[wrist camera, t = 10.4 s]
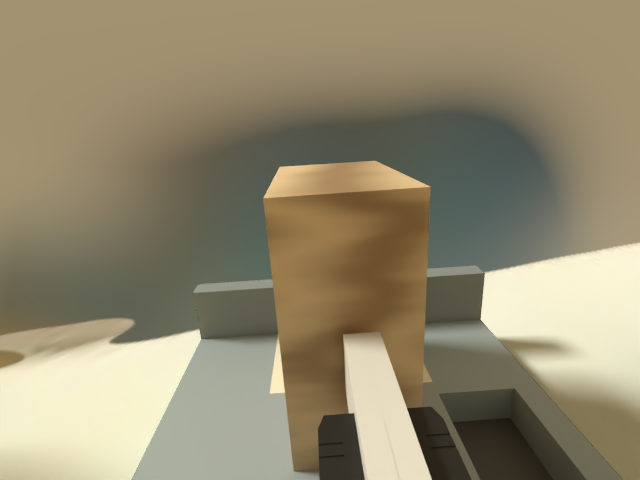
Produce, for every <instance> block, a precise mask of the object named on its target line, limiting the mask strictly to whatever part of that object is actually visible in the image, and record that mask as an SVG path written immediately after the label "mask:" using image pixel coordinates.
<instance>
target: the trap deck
mask: <svg viewBox="0 0 640 480" xmlns="http://www.w3.org/2000/svg"><path fill="white" fill-rule="evenodd" d="M484 275H485V273H484V272H483V271H481V270H480V269H479V268H478V267H477V266H464V267H448V268H433V269H427V286H426V312H425V339H424V365H423V391H422V407H432V408H433V409H434V410H435V411H436V412H437V413H438V414H439V415H440V416H441V417H442V418H443V419H444V421H445V423H446V425H447V428H448V430H449V432H450V436H452V438H453V441H454V443H455V445H456V449H458V451H459V453H460V456H461V458H462V460H463V462H464V464H465V466H466V469H467V471H468V473H469V475H470V477H471V479H472V480H623V479H622V478H621V477H620V476H619V475H618V474H617V473H616V471H615V470H614V469H613V468H612V467H611V466H610V465H609V464H608V462H607V461H606V460H605V459H604V458H603V457H602V456H601V455H600V453H599V452H598V451H597V450H596V449H595V448H594V447H593V446H592V444H591V443H590V442H589V441H588V440H587V439H586V438H585V437H584V435H583V434H582V433H581V432H580V431H579V430H578V429H577V428H576V426H575V425H574V424H573V423H572V422H571V421H570V420H569V419H568V418H567V416H566V415H565V414H564V413H563V412H562V411H561V410H560V409H559V407H558V406H557V405H556V404H555V403H554V402H553V401H552V400H551V398H550V397H549V396H548V395H547V394H546V393H545V392H544V391H543V389H542V388H541V387H540V386H539V385H538V384H537V383H536V382H535V380H534V379H533V378H532V377H531V376H530V375H529V374H528V373H527V371H526V370H525V369H524V368H523V367H522V366H521V365H520V364H519V362H518V361H517V360H516V359H515V358H514V357H513V356H512V355H511V354H510V352H509V351H508V350H507V349H506V348H505V347H504V346H503V345H502V343H501V342H500V341H499V340H498V339H497V338H496V337H495V336H494V334H493V333H492V332H491V331H490V330H489V329H488V328H487V327H486V325H485V324H484V323H483V322H482V321H481V320H480V318H481V307H482V297H483V286H484ZM193 297H194V303H195V308H196V313H197V318H198V323H199V329H200V334H201V341H200V343H199V345H198V347H197V349H196V351H195V353H194V355H193V357H192V359H191V361H190V363H189V365H188V367H187V369H186V371H185V373H184V375H183V377H182V379H181V381H180V383H179V385H178V387H177V389H176V391H175V393H174V395H173V397H172V399H171V401H170V403H169V405H168V407H167V409H166V411H165V413H164V415H163V417H162V419H161V421H160V423H159V425H158V427H157V429H156V431H155V433H154V435H153V437H152V439H151V441H150V443H149V445H148V447H147V449H146V451H145V453H144V455H143V457H142V459H141V461H140V463H139V465H138V467H137V470H136V472H135V474H134V476H133V478H132V480H320V479H319V469H312V470H301V471H293V462H292V453H291V444H290V435H289V426H288V417H287V407H286V398H285V389H284V380H283V371H282V362H281V353H280V344H279V335H278V326H277V317H276V308H275V299H274V289H273V280H272V279H271V280H257V281H243V282H227V283H212V284H199V285H198V286H197V287H196V289H195V290H194V292H193Z"/></svg>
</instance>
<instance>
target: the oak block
mask: <svg viewBox="0 0 640 480" xmlns="http://www.w3.org/2000/svg"><path fill="white" fill-rule="evenodd" d="M429 207H430V186H427V185H425V184H423V183H421V182H419V181H417V180H415V179H413V178H410V177H408V176H406V175H404V174H402V173H399V172H398V171H395V170H393V169H391V168H389V167H387V166H385V165H383V164H381V163H379V162H376V161H367V162H350V163H336V164H320V165H304V166H289V167H280V168H279V170H278V171H277V174H276V175H275V177H274V179H273V181H272V183H271V185H270V187H269V189H268V191H267V192H266V194H265V196H264V208H265V217H266V226H267V235H268V243H269V253H270V262H271V271H272V280H273V289H274V299H275V308H276V317H277V326H278V335H279V344H280V353H281V362H282V371H283V380H284V389H285V398H286V407H287V417H288V426H289V435H290V444H291V453H292V462H293V471H301V470H312V469H319V449H318V427H319V425H320V423H321V420H322V418H323V416H324V415H335V414H349V411H348V404H347V397H346V390H345V367H344V345H343V334H354V333H369V332H380V333H381V336H382V339H383V342H384V345H385V348H386V350H387V353H388V356H389V359H390V362H391V365H392V367H393V370H394V373H395V376H396V379H397V382H398V385H399V387H400V390H401V393H402V396H403V399H404V402H405V405H406V407H407V408H417V407H422V391H423V365H424V339H425V312H426V286H427V260H428V259H427V258H428V234H429Z"/></svg>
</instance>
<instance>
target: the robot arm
mask: <svg viewBox="0 0 640 480" xmlns="http://www.w3.org/2000/svg"><path fill="white" fill-rule="evenodd" d="M343 345H344V367H345V390H346V397H347V404H348V411H349V414H335V415H324V416H323V418H322V420H321V423H320V425H319V427H318V449H319V479H320V480H472V479H471V477H470V475H469V473H468V471H467V469H466V466H465V464H464V462H463V460H462V458H461V456H460V453H459V451H458V449H456V445H455V443H454V441H453V438H452V436H450V432H449V430H448V428H447V425H446V423H445V421H444V419H443V418H442V417H441V416H440V415H439V414H438V413H437V412H436V411H435V410H434V409H433V408H432V407H417V408H407V407H406V405H405V402H404V399H403V396H402V393H401V390H400V387H399V385H398V382H397V379H396V376H395V373H394V370H393V367H392V365H391V362H390V359H389V356H388V353H387V350H386V348H385V345H384V342H383V339H382V336H381V333H380V332H369V333H354V334H343Z"/></svg>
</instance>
